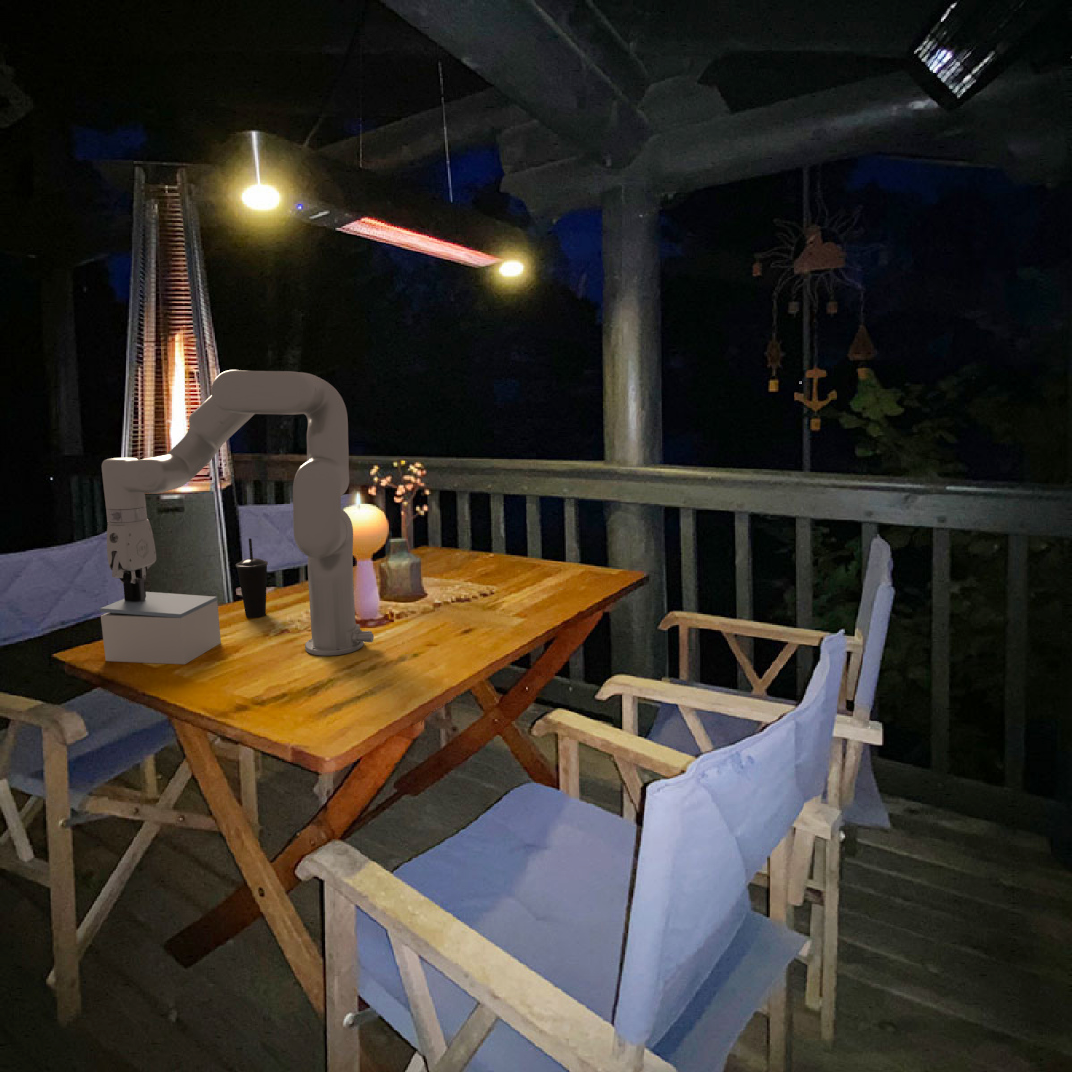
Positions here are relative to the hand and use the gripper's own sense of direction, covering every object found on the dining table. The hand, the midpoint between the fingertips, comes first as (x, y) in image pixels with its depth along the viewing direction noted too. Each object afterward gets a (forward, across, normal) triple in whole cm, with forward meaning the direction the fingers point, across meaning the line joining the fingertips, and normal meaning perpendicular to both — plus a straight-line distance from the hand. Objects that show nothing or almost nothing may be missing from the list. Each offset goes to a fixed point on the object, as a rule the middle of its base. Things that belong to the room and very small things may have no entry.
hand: (135, 598), depth 163 cm
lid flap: (+1, 0, -6) cm, 6 cm away
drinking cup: (+12, +29, -12) cm, 34 cm away
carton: (+12, 0, -6) cm, 13 cm away
